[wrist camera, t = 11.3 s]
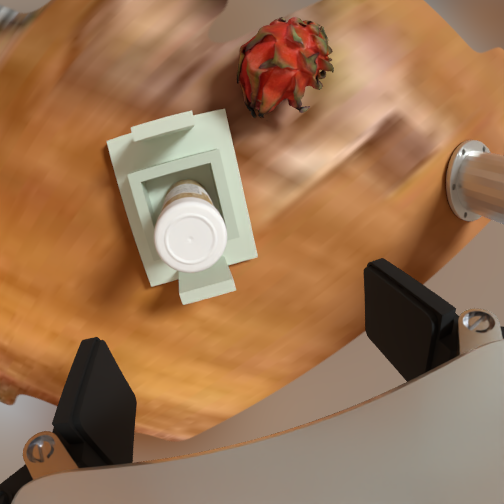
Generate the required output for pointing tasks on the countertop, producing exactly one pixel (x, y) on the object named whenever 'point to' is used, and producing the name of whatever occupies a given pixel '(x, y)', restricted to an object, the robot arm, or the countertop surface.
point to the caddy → (175, 169)
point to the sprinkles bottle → (189, 229)
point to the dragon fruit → (283, 64)
